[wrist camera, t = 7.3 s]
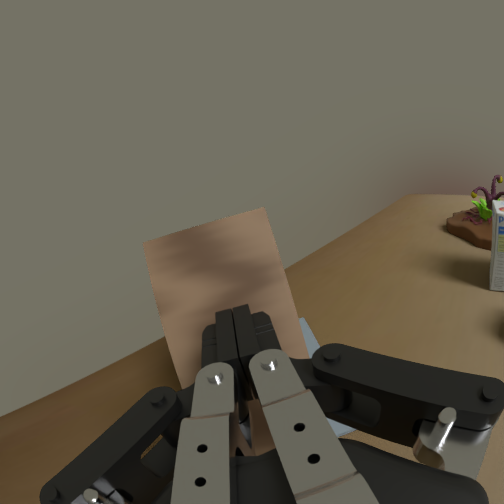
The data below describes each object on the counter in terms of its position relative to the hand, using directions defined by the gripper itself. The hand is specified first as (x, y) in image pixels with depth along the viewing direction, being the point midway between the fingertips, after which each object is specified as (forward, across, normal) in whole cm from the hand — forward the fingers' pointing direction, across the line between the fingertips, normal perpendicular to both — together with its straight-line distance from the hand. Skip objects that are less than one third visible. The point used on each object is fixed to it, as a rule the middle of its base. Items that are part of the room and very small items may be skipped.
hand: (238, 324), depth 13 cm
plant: (+23, +50, -14) cm, 57 cm away
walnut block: (-2, 0, -13) cm, 13 cm away
